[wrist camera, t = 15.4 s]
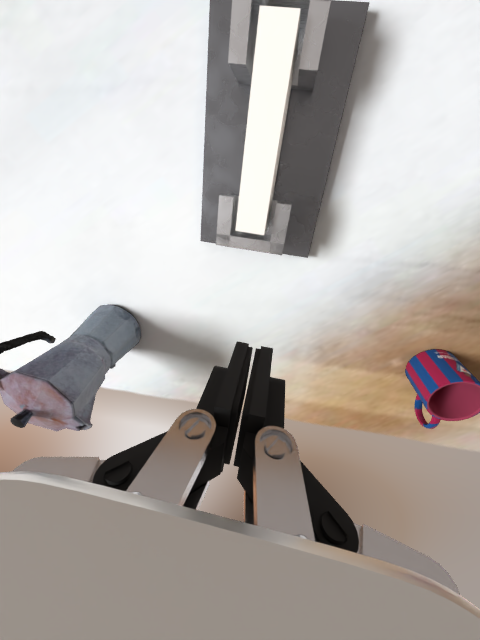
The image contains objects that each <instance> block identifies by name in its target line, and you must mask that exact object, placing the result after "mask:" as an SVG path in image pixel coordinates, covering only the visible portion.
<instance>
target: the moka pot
mask: <svg viewBox="0 0 480 640" xmlns="http://www.w3.org/2000/svg"><path fill="white" fill-rule="evenodd" d="M140 337H141V330H140V326H139V324H138V323H137V321H136V319H135V318H134V317H133V316H132V315H131V314H130V313H129V312H127V311H126V310H124V309H122V308H120V307H118V306H114V305H102V306H99V307H98V308H97V309H96V310H95V311H94V312H93V313H92V314H91V315H90V316H89V317H88V318H87V319H86V320H85V321H84V322H83V323H82V324H81V326H80V327H79V328H78V329H77V330H76V331H75V332H74V333H73V334H72V335H71V336H70V337H69V338H68V339H66V340H65V341H63V342H62V343H60V344H59V345H57V346H55V347H54V348H52V349H50V350H49V351H47V352H46V353H44V354H42V355H41V356H39V357H37V358H36V359H34V360H32V361H31V362H29V363H27V364H26V365H24V366H22V367H21V368H19V369H17V370H16V371H14V372H11V373H8V372H6V371H4V370H3V369H0V393H1V396H2V399H3V401H4V404H5V405H6V406H8V407H9V408H10V409H11V410H13V411H14V412H15V413H17V415H15V416H14V417H13V418H11V422H12V424H13V425H15V426H17V427H20V428H23V427H25V426H26V424H27V423H30V424H33V425H37V426H41V427H44V428H47V429H51V430H54V431H59V430H62V429H65V428H67V429H72V430H76V431H80V430H86V429H89V428H91V427H92V424H91V423H90V418H91V413H92V409H93V404H94V400H95V395H96V392H97V391H98V389H99V387H100V386H101V384H102V383H103V381H104V379H105V374H106V373H107V371H108V370H109V368H111V369H112V368H113V367H115V363H116V362H117V361H118V360H119V359H120V358H122V357H123V356H124V355H125V354H126V353H127V352H129V351H130V350H131V349H132V348H133V347H134V346H135V345H137V344H138V343H139V341H140ZM40 339H41V340H45V341H47V342H48V343H54V341H55V338H54V337H53V336H50V335H49V334H47V333H46V332H43V331H40V332H36V333H33V334H28V335H25V336H23V337H19V338H16V339H13V340H10V341H6V342H2V343H0V354H1V353H3V352H4V351H7V350H10V349H12V348H16V347H19V346H21V345H22V344H25V343H27V342H31V341H35V340H40Z"/></svg>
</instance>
